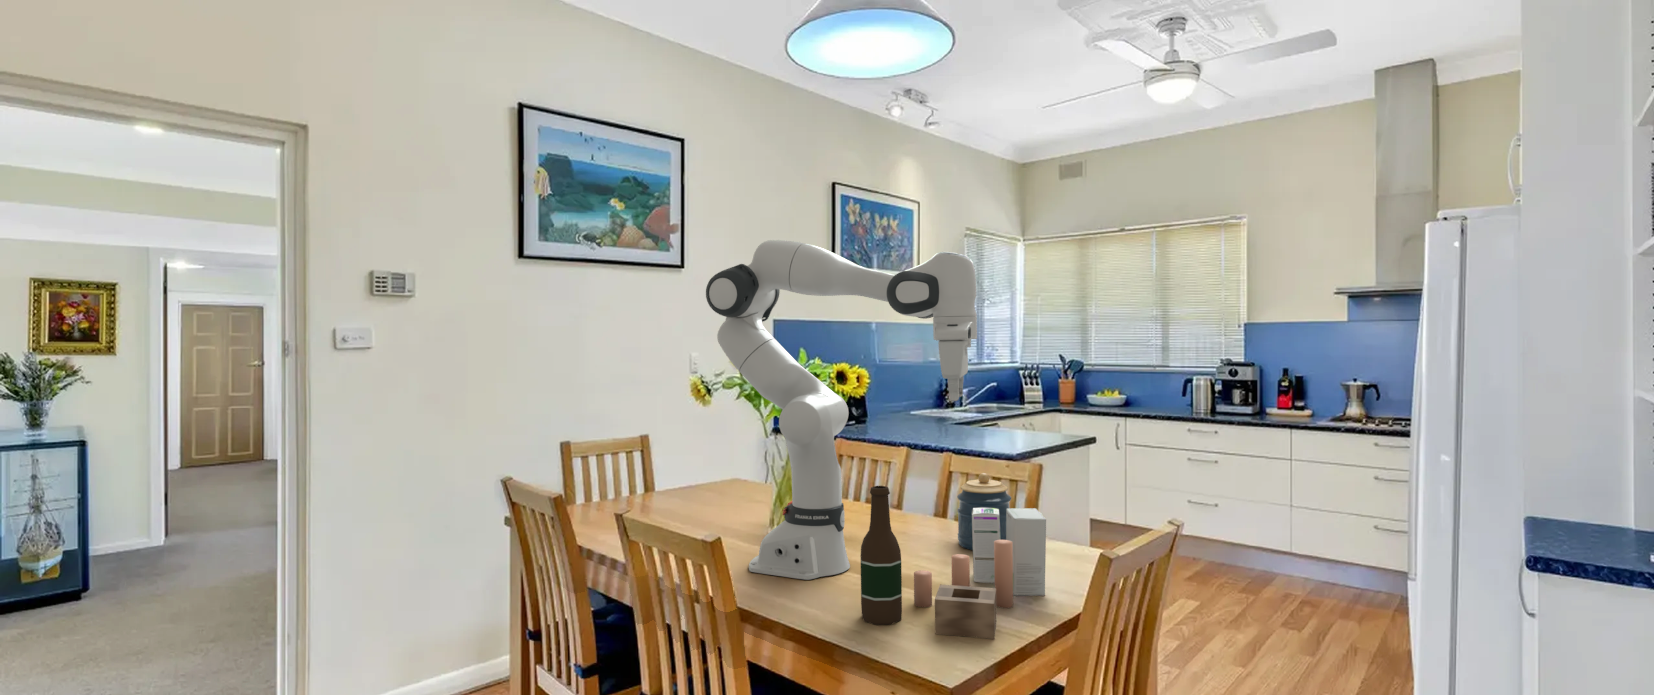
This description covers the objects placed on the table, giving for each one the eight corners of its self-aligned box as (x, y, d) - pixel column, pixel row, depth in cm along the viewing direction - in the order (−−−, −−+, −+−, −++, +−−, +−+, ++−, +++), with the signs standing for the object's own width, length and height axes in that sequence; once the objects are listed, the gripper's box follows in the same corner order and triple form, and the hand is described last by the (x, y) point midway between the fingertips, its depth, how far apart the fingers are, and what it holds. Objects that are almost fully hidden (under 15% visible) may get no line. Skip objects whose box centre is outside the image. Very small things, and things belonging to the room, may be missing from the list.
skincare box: (1005, 582, 158) (1004, 507, 157) (1037, 582, 157) (1036, 507, 157) (1014, 596, 149) (1013, 517, 149) (1047, 596, 149) (1047, 517, 149)
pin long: (994, 607, 144) (993, 544, 143) (995, 601, 147) (994, 539, 147) (1012, 608, 143) (1012, 545, 143) (1013, 602, 146) (1012, 540, 146)
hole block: (935, 633, 131) (934, 599, 131) (940, 617, 139) (940, 584, 139) (994, 639, 129) (993, 603, 129) (996, 621, 136) (996, 588, 136)
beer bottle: (872, 629, 134) (870, 493, 134) (853, 614, 141) (851, 485, 141) (910, 621, 137) (909, 488, 137) (890, 607, 144) (888, 481, 144)
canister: (978, 535, 195) (978, 466, 195) (1022, 545, 186) (1021, 472, 185) (946, 545, 186) (946, 473, 186) (991, 556, 177) (990, 480, 176)
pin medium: (951, 605, 145) (950, 558, 145) (952, 599, 148) (952, 553, 148) (969, 607, 144) (968, 559, 144) (970, 601, 147) (970, 554, 147)
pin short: (913, 606, 145) (912, 575, 144) (915, 600, 148) (915, 569, 148) (930, 608, 144) (930, 576, 144) (933, 601, 147) (932, 571, 147)
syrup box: (1001, 583, 157) (1000, 513, 157) (972, 582, 158) (971, 512, 158) (1001, 575, 163) (1000, 507, 162) (972, 574, 164) (972, 506, 163)
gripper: (944, 331, 167) (945, 394, 167) (933, 331, 147) (935, 402, 147) (973, 331, 165) (975, 394, 165) (967, 330, 145) (968, 402, 146)
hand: (956, 398), depth 156 cm, fingers open, 8 cm apart
